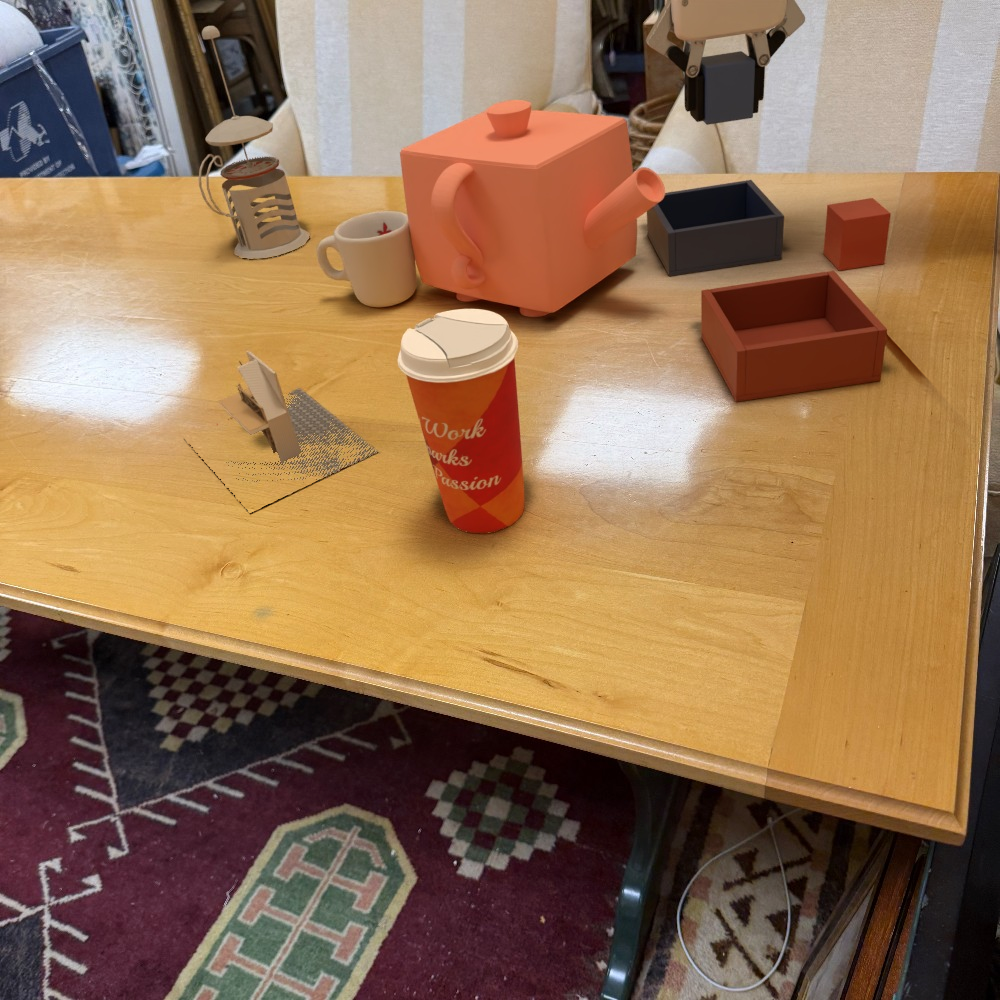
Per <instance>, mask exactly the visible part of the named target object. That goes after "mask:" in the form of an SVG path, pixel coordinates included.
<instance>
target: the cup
mask: <svg viewBox="0 0 1000 1000" xmlns="http://www.w3.org/2000/svg"><path fill="white" fill-rule="evenodd" d="M316 247H317V248H316V258H317V261H318V264H319V266H320V268H321V270H322V272H323V273H324V274H325V276H326V277H327V278H330V280H333V281H341V282H342V281H344V282H349V283H350V285H351V288H352V290H353V293H354V295H355V297H356V298H357V300H358V301H359V302H360V303H361V304H363V305H365V306H367V307H371V308H386V307H391V306H395V305H398V304H402V303H403V302H405V301H407V300H409V299H410V298H411V297H412V296H413V295H414V294H415V292H416V289H417V284H418V280H417V279H418V278H417V264H416V261H415V257H414V251H413V246H412V240H411V234H410V228H409V222H408V215H407V213H405V212H402V211H397V210H379V211H373V212H372V211H371V212H367V213H363V214H359V215H356V216H353V217H351V218H348V219H347V220H344V221H342V222H341V223H339V225H337V226H336V228H334V230H333V234H332V235H329V236H326V237H324V238H323V239H322V240H321V241H320V242H319V243H318V245H317V246H316ZM328 248H332V249H334V250H335V251H336V252H337V253H338V255H339V256H340V258H341V262H342V267H343V269H342V270H338V269H336V268H334V267H333V265H332V264H331V262H330V261H329V258H328V254H327V249H328Z"/></svg>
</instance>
